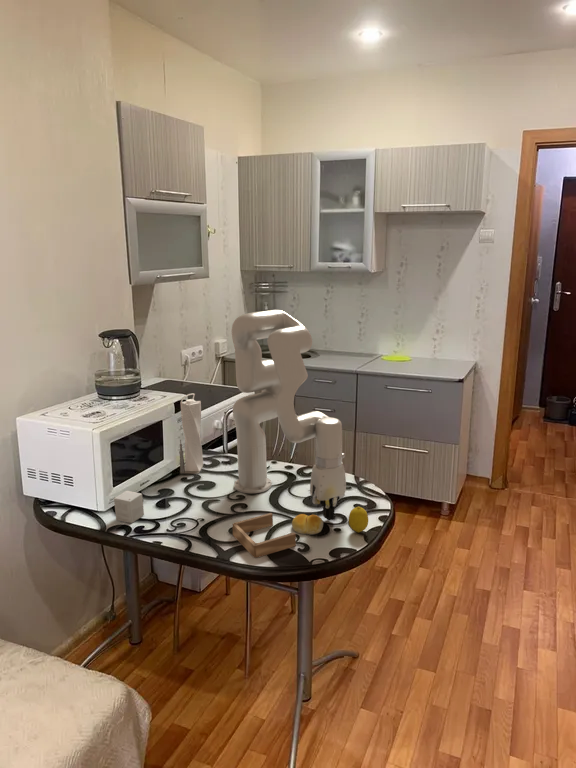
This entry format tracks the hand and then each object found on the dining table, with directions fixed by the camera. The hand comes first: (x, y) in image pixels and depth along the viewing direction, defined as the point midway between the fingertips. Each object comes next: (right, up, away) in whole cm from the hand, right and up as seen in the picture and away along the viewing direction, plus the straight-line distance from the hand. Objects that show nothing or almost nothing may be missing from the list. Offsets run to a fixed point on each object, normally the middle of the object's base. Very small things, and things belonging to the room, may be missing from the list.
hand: (328, 518), depth 175 cm
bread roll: (-6, -2, -3) cm, 7 cm away
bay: (-19, -4, -10) cm, 22 cm away
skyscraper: (-47, +8, +41) cm, 62 cm away
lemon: (+8, -3, -7) cm, 11 cm away
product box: (-60, -1, +5) cm, 60 cm away
